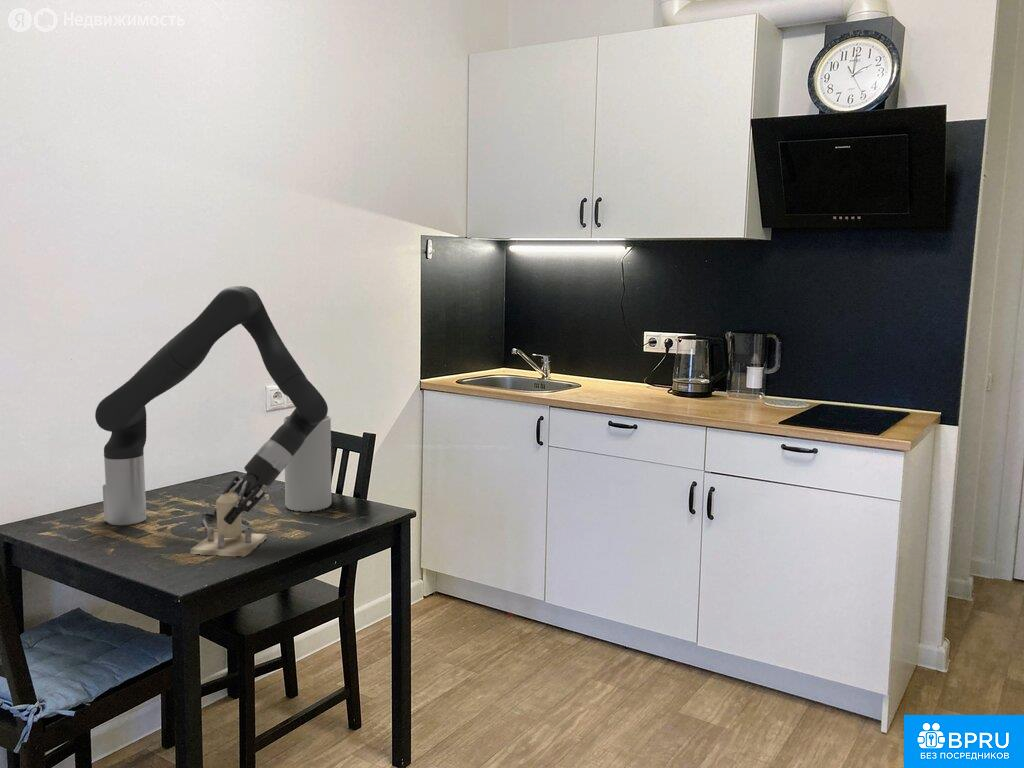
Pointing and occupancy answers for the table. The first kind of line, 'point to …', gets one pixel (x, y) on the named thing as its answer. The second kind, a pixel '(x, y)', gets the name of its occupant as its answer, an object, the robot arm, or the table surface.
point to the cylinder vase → (310, 471)
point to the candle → (223, 508)
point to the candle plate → (228, 544)
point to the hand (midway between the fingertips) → (221, 518)
